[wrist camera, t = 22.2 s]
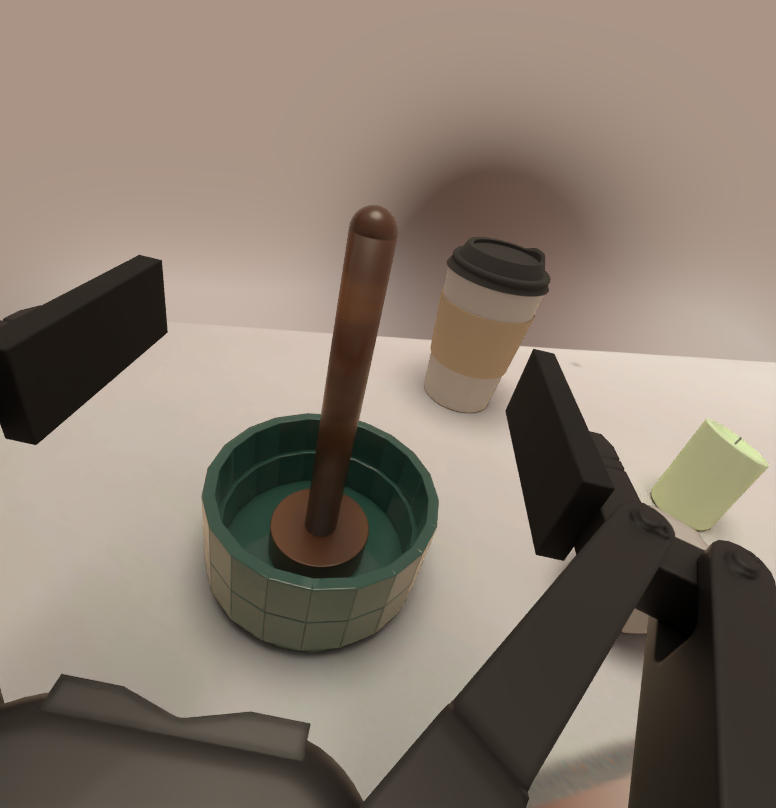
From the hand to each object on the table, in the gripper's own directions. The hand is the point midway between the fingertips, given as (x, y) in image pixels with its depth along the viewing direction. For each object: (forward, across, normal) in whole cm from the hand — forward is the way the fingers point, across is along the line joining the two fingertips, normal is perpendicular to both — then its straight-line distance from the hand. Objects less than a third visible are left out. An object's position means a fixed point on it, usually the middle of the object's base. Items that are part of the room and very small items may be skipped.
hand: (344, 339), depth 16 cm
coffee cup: (+25, +10, -16) cm, 31 cm away
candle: (+14, +29, -16) cm, 36 cm away
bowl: (+3, 0, -16) cm, 16 cm away
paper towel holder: (+3, 0, -15) cm, 16 cm away
